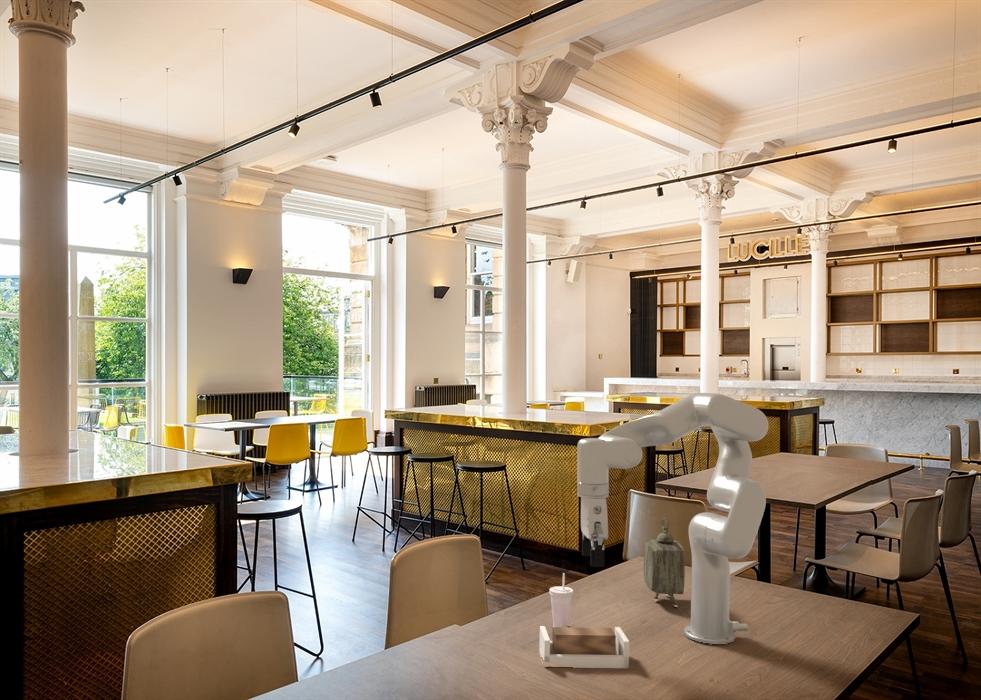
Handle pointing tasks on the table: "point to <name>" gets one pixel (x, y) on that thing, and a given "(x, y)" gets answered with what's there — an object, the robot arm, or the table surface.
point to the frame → (586, 660)
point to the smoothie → (560, 604)
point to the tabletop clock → (664, 565)
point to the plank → (583, 641)
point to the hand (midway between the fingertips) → (592, 561)
